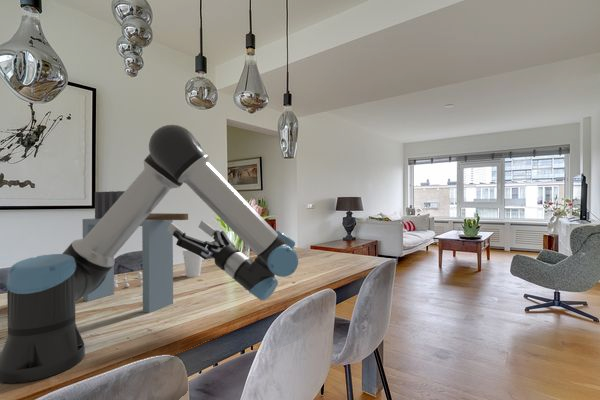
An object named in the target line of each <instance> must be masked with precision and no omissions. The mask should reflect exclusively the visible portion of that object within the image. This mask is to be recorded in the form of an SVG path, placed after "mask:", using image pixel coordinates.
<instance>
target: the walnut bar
mask: <svg viewBox="0 0 600 400" xmlns="http://www.w3.org/2000/svg"><path fill="white" fill-rule="evenodd" d="M145 220H173V221H187V220H188V221H189V213H165V212H164V213H163V212H161V213H156V212H155V213H153V212H151V213H150V214H149V215H148V216H147V218H146V219H145Z"/></svg>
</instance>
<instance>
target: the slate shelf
mask: <svg viewBox="0 0 600 400" xmlns="http://www.w3.org/2000/svg"><path fill="white" fill-rule="evenodd" d="M100 220H101V219H95V217H94V218H83V219H82V239H84V238H85V237H86V236H87V234H88V233H89V232H90V231H91V230H92V229H93V228H94V226H95V225H96V224H97V223H98V222H99V221H100ZM173 221H174V220H144V221H143V222H142V223H141V225H140V226H139V227H141V231H142V232H141V236H142V237H141V238H142V241H141V242H142V245H141V247H142V250H141V251H142V252H141V253H142V256H141V257H142V280H143V286H142V312H145V313H153V312H154V311H157V310H161V309H162V308H165V307H168V306H170V305H172V304H174V248H173V247H174V243H173V242H174V241H173V240H174V239H173V238H174V236H173V235H172V234H171V233H170V232H169V231H168V227H169V225H170V223H173ZM114 282H115V264H114V265H113V267H112V268H111V269H110V270H109V272H108V273H107V276H106V278H105V280H104V282H103V283H102V284H101V285H100V286H99V287H98V288H97V289H96V290H94V291H93V292H91V293H89V294H87V295H85V296H83V297H82V301H84V302H91V301H93V300H94V301H95V300H98V299H102V298H105V297H108V296H111V295H114V294H115V288H114V284H115V283H114Z"/></svg>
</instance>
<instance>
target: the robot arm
mask: <svg viewBox="0 0 600 400" xmlns="http://www.w3.org/2000/svg"><path fill="white" fill-rule="evenodd" d="M148 150H149V154H148V155H147V156H146V158H144V160H143V167H144V168H143V170H142V171H141V173H139V175H138V176H137V177H136V178H135V179H134V181H133V182H132V183H130V185H129V186H128V187H127V189H125V190H124V191H125V192H124V193H123V194H122V195H121V197H120V198H119V199H118V200H117V201H116V202H115V203H114V205H113V206H112V207H111V208H110V209H109V210H108V211H107V213H106V214H105V215H104V216H103V217H102V218H101V220H100V221H99V222H98V223H97V224H96V225H95V226H94V228H93V229H92V230H91V231H90V232H89V233H88V234H87V236H86V237H85V238H84V239H83V238H80V239H75V240H73V241H72V242H71V243H70V244H69V246H67V248H66V249H65V250H64V251H63V252H62V253H53V254H52V253H51V254H43V255H42V254H41V255H38V256H36V257H29V258H25V259H22V260H20V261H19V260H18V261H17V262H16V263H13V264H12V265H11V266H10V268H9V269H8V272H7V279H6V283H5V285H6V286H5V287H6V291H7V295H6V296H7V297H6V299H7V300H6V301H7V304H6V305H7V337H6V341H5V343H4V345H3V348H2V350H1V353H0V381H1V383H4V382H7V383H6V384H16V383H15V382H20V383H21V382H22V383H28V382H33V381H38V380H41V379H46V378H48V377H52V376H54V375H58V374H60V373H62V372H64V371H67V370H69V369H71V368H73V367H74V366H76V365H77V364H78V363H80V362H81V361H83V359H84V358H85V354H86V351H85V350H86V347H85V346H86V345H85V342H84V340H83V338H82V336H81V333H80V331H79V328H78V326H77V322H76V302H77V301H79V300H80V299H83V296H85V295H87V294H89V293H91V292H93V291H94V290H96V289H97V288H98V287H99V286H100V285H101V284H102V283H103V282H104V280H105V278H106V276H107V273H108V272H109V270H110V269H111V268H112V267H113V265H114V266H115V263H116V262H115V255H116V254H117V253H119V251H120V250H121V248H122V247H123V246H124V245H125V243H127V241H128V240H129V239H130V238H131V237H132V236H133V234H134V233H135V232H136V231H137V230H138V228H139V227H141V226H140V225H141V223H142V222H143V221H144V220H145V219H146V218H147V216H148V215H149V214H150V213H153V211H154V210H155V208H156V207H157V206H158V205H159V204H160V202H161V201H162V200H164V197H166V195H167V194H168V193H169V192H170V190H172V189H177V188H180V187H181V186H182V185H183V184H186V185H187V186H188V187H189V188H190V189H191V190H192V191H193V192H194V193H195V194H196V196H198V197H199V198H200V199H201V200H202V201H203V202H204V203H205V204H206V205H207V206H208V208H210V209H211V211H212V212H214V213H215V215H216V216H218V217H219V218H220V219H221V220H222V221H223V223H224V224H226V225H227V226H228V228H229V229H230V230H232V232H233V233H234V234H235V235H236V236H237V237H238V238H239V239H240V240H241V241H242V242H243V243H244V244H245V245H246V246H247V247H248V248H250V250H251V251H252V252H253V253H254V254H255V255H256V257H255V259H254V261H253V260H252V259H251V258H250V257H249V256H247V255H246V254H245V253H243V252H242V251H240V250H239V249H238V248H237V247H236V245H235V244H234V243H233V242H232V241H231V240H230V238H229V236H228V235H227V233H225V231H224V230H221V231H219V230H218V229H217V230H216V229H215V228H214V227H213V226H211V225H210V224H209V223H208V222H206V221H204V220H200V222H199V225H198V228H199V229H200V230H202V231H203V232H204V233H205V234H207V235H208V236H209V237H210V238H212V239H213V240H214V241H213V242H212V241H211V242H210V241H207V240H205V241H203V240H200V239H197V238H194V237H191V236H189V235H187V233H186V232H184V230H182V228H180V227H179V226H177V225H176V224H175V223H170V225H169V227H168V231H169V232H170V233H171V234H172V235H173V237H174V238H176V239H177V241H176V244H175V245H177V246H178V247H179V248H182V249H186V250H188V251H191V252H193V253H195V254H197V255H199V256H200V257H202V260H203V259H204V260H207V259H208V257H211V258H213V259H214V264H215V265H216V266H217V268H219V269H220V270H222V271H224V273H226V274H227V275H228V276H229V277H231V279H233V280H234V281H235V282H237V283H238V284H239V285H240V286H242V287H243V288H244V289H245V290H246V291H248V293H250V294H251V295H253V296H254V297H255V298H257V299H258V300H260V301H266V300H267V299H269V298H270V297H271V296H272V295H273V294H274V292H275V291H276V289H277V287H278V284H279V281H278V278H279V277H280V278H286V277H289V276H291V275H293V274H294V273H295V271H296V270H297V268H298V265H299V257H298V255H297V251H295V249H294V248H295V245H296V242H295V240H293V239H291V238H290V236H287V235H286V234H285V233H283V232H282V231H280V230H278V229H277V230H274V228H273V227H272V226H271V225H270V224H269V223H268V222H267V221H266V220H265V219H264V218H263V217H262V216H261V215H260V214H259V213H258V212H257V211H256V209H254V207H253V206H251V204H250V203H249V202H248V201H247V200H246V199H245V197H243V196H242V195H241V194H240V193H239V192H238V190H236V189H235V188H234V186H233V185H232V184H230V183H229V182H228V180H227V179H226V178H225V177H224V176H223V175H222V174H221V173H220V172H219V171H218V170H217V169H216V168H215V167H214V166H213V165H212V164H211V163H210V157H209V155H208V153H206V152H205V151H204V149H203V148H202V147H201V144H200V143H199V141H198V140H197V139H196V138H195V136H194V135H193V133H192V131H191V132H190V130H188V129H187V128H186V127H183V126H180V125H178V124H167V125H163V126H161V127H158V129H156V130H155V131H154V132H153V133H152V135H151V136H150V138H149V141H148ZM276 276H277V277H278V278H276ZM20 383H19V384H20Z"/></svg>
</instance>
